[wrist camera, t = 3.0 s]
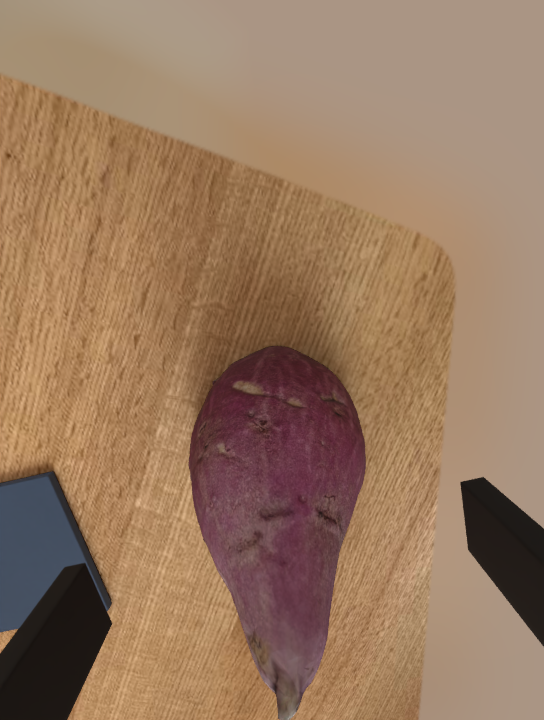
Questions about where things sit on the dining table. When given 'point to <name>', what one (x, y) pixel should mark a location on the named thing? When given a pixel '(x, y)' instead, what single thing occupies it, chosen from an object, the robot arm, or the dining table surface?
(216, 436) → the vegetable
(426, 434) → the dining table surface
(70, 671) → the robot arm
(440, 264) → the dining table surface
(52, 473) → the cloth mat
